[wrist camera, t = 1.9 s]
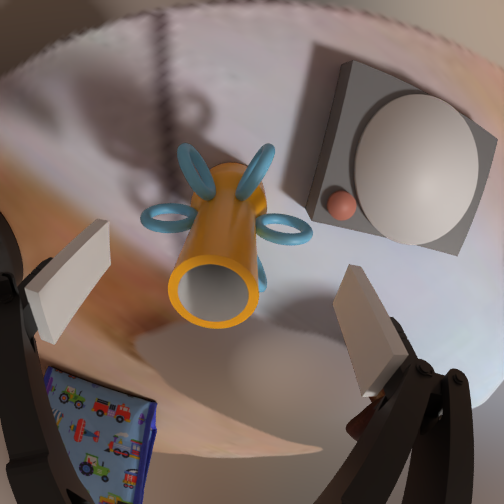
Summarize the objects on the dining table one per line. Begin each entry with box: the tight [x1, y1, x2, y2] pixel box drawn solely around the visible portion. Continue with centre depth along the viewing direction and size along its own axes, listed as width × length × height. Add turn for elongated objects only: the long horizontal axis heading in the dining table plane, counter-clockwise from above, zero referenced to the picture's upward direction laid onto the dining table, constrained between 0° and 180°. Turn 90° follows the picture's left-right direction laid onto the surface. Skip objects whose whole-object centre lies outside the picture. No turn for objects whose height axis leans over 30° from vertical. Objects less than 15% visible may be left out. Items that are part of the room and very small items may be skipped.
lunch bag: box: [44, 366, 157, 504], centre depth 30 cm, size 22×14×29 cm, turn 75°
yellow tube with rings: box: [140, 143, 313, 329], centre depth 19 cm, size 12×10×15 cm
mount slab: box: [305, 60, 498, 256], centre depth 22 cm, size 18×14×4 cm
